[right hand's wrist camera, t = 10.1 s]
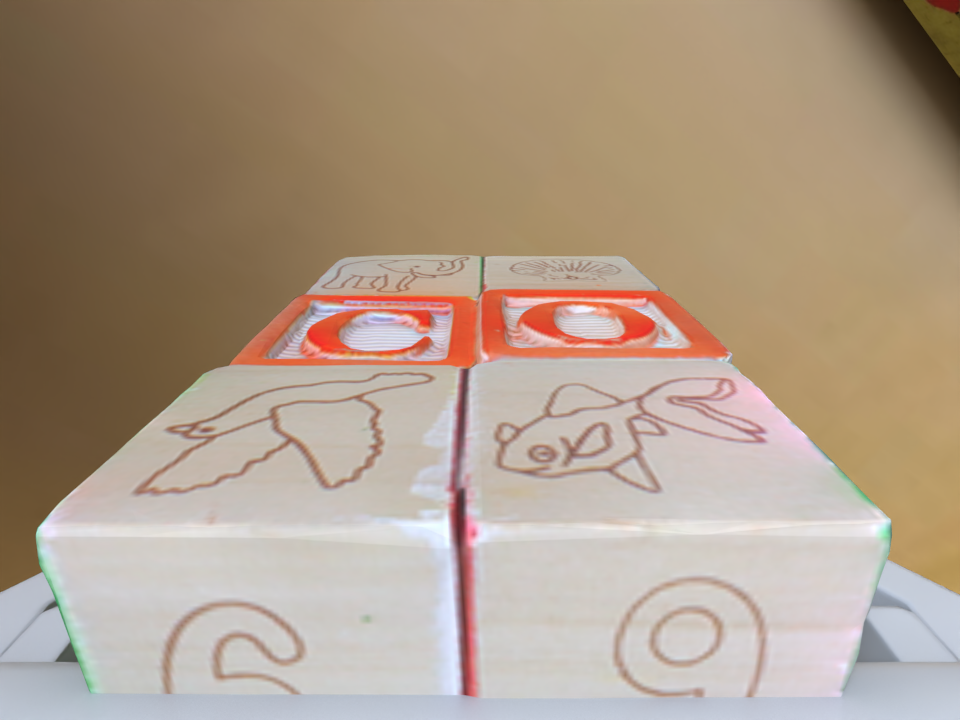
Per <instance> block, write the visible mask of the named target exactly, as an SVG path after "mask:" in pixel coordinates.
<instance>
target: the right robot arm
mask: <svg viewBox="0 0 960 720" xmlns="http://www.w3.org/2000/svg"><path fill="white" fill-rule="evenodd" d="M0 720H960V595H959V594H957V593H955V592H953V591H951V590H949V589H947V588H945V587H943V586H941V585H939V584H937V583H935V582H933V581H931V580H929V579H926V578H924V577H922V576H920V575H918V574H916V573H914V572H912V571H910V570H908V569H906V568H904V567H902V566H900V565H898V564H896V563H894V562H892V561H890V560H888V559H887V560H886V563H885V566H884V569H883V571H882V574H881V577H880V580H879V583H878V586H877V589H876V593H875V596H874V599H873V602H872V605H871V608H870V611H869V613H868V615H867V617H866V619H865V621H864V625H863V631H862V637H861V643H860V649H859V655H858V657H857V660H856V662H855V665H854V667H853V669H852V672H851V674H850V677H849V679H848V681H847V684H846V686H845V689H844V691H843V693H842V696H841V697H692V698H477V697H472V696H466V695H293V694H91V693H90V691H89V689H88V686H87V684H86V681H85V678H84V676H83V673H82V671H81V668H80V665H79V663H78V660H77V657H76V655H75V652H74V649H73V647H72V644H71V641H70V639H69V636H68V633H67V630H66V628H65V625H64V622H63V619H62V617H61V614H60V611H59V608H58V606H57V603H56V600H55V598H54V595H53V592H52V590H51V588H50V586H49V584H48V582H47V580H46V577H45V575H44V573H43V572H41V573H39V574H37V575H35V576H33V577H31V578H29V579H27V580H25V581H23V582H21V583H19V584H17V585H15V586H13V587H11V588H9V589H7V590H4V591H2V592H0Z"/></svg>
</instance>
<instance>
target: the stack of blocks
mask: <svg viewBox="0 0 960 720" xmlns="http://www.w3.org/2000/svg"><path fill="white" fill-rule="evenodd" d="M731 362H732V353H731V352H730V351H729V350H728V349H727V348H726V347H725V346H724V345H723V344H722V343H721V342H720V341H719V340H718V339H717V338H716V337H715V336H713V335H712V334H711V333H710V332H709V331H708V330H707V329H706V328H705V327H704V326H703V325H702V324H700V323H699V322H698V321H697V320H696V319H695V318H694V317H693V316H692V315H691V314H689V313H688V312H687V311H686V310H685V309H684V308H682V307H681V306H680V305H679V304H678V303H677V302H676V301H675V300H674V299H672V298H671V297H670V296H669V295H667V294H665V293H663V292H661V291H660V289H659V287H657V286H656V285H655V284H654V283H653V282H651V281H650V280H649V279H648V278H646V277H645V276H644V275H643V274H642V273H641V272H640V271H639V270H637V269H636V268H635V267H634V266H633V265H632V264H630V263H629V262H628V261H627V260H626V259H625V258H623V257H620V256H491V257H480V256H468V255H385V256H363V257H347V258H344V259H342V260H339V261H337V262H336V263H335V264H334V265H333V266H332V267H331V268H329V269H328V270H327V271H326V272H325V273H324V274H323V275H322V276H321V277H320V279H319V280H318V281H317V282H316V283H315V284H314V285H313V286H312V287H311V288H310V289H309V290H308V292H307V293H306V294H303V295H301V296H299V297H297V298H295V299H294V300H292V301H291V302H290V304H289V305H288V306H287V307H286V308H285V309H284V310H282V311H281V312H280V313H279V314H278V315H277V316H276V317H275V318H274V319H273V320H272V321H271V322H270V323H269V324H268V325H267V326H266V327H265V328H264V329H263V330H262V331H260V332H259V333H258V334H257V335H256V336H255V337H254V338H253V339H252V340H251V341H250V342H249V343H248V344H247V345H246V346H245V347H244V348H243V349H242V351H241V352H240V353H239V354H238V355H237V356H236V357H235V358H234V359H233V360H232V362H231V363H230V365H229V366H226V367H220V368H216V369H214V370H211V371H209V372H206V373H204V374H203V375H202V376H201V377H200V378H199V379H198V380H197V381H196V382H195V383H194V384H193V385H192V386H191V387H189V388H188V389H187V390H186V391H185V392H183V393H182V394H181V395H180V396H179V397H178V398H177V399H176V400H175V401H174V402H173V403H172V404H171V405H170V406H168V407H167V408H166V409H165V410H164V411H162V412H161V413H160V414H159V415H158V416H157V417H156V418H154V419H153V420H152V421H151V422H150V423H148V424H147V425H146V426H145V427H144V428H143V429H141V430H140V431H139V432H138V433H137V434H136V435H135V436H134V437H133V438H132V439H131V440H130V441H129V442H127V443H126V444H125V445H124V446H123V447H122V448H121V449H120V450H119V451H118V452H117V453H115V454H114V455H113V456H112V457H111V458H110V459H109V460H108V461H106V462H105V463H104V464H103V465H102V466H101V467H100V468H98V469H97V470H96V471H95V472H94V473H93V474H92V475H90V476H89V477H88V478H87V479H86V480H85V481H84V482H83V483H81V484H80V485H79V486H78V487H77V488H76V489H75V490H73V491H72V492H71V493H70V494H69V495H68V496H67V497H65V498H64V499H63V500H62V501H61V502H60V503H59V504H58V505H57V506H56V507H55V508H54V510H53V511H52V512H51V513H50V514H49V515H48V516H47V518H46V519H45V520H44V521H43V522H42V523H41V525H40V526H39V527H38V528H37V533H36V543H37V551H38V559H39V565H40V567H41V569H42V571H43V573H44V575H45V577H46V580H47V582H48V584H49V586H50V588H51V590H52V592H53V595H54V598H55V600H56V603H57V606H58V608H59V611H60V614H61V617H62V619H63V622H64V625H65V628H66V630H67V633H68V636H69V639H70V641H71V644H72V647H73V649H74V652H75V655H76V657H77V660H78V663H79V665H80V668H81V671H82V673H83V676H84V678H85V681H86V684H87V686H88V689H89V691H90V693H91V694H293V695H466V696H472V697H477V698H692V697H841V696H842V693H843V691H844V689H845V686H846V684H847V681H848V679H849V677H850V674H851V672H852V669H853V667H854V665H855V662H856V660H857V657H858V655H859V649H860V643H861V637H862V631H863V625H864V621H865V619H866V617H867V615H868V613H869V611H870V608H871V605H872V602H873V599H874V596H875V593H876V589H877V586H878V583H879V580H880V577H881V574H882V571H883V569H884V566H885V563H886V560H887V558H888V555H889V552H890V545H891V538H892V528H891V520H890V519H889V518H888V517H887V516H886V515H885V514H884V513H883V512H882V511H881V510H880V509H879V508H878V507H877V506H876V505H875V504H874V503H873V502H872V501H871V500H870V499H869V498H868V497H867V496H866V495H865V494H864V493H863V492H862V491H861V490H860V489H859V488H858V487H857V486H856V485H855V484H854V483H853V482H852V481H851V480H850V479H849V478H848V477H847V476H846V475H845V474H844V473H843V472H842V471H841V470H840V469H839V468H838V466H837V465H836V464H835V463H834V462H833V461H832V460H831V459H830V458H829V457H828V456H827V455H826V454H825V453H824V452H823V451H822V450H821V449H820V448H819V447H818V446H817V445H816V444H814V443H813V442H812V441H811V440H810V439H809V438H808V437H807V436H806V435H805V434H804V433H803V432H802V431H801V430H800V429H799V428H798V427H797V426H796V425H795V424H794V423H793V422H791V421H790V420H789V419H788V418H787V417H786V416H785V415H784V414H783V413H782V412H781V411H780V410H779V409H778V408H777V407H776V406H775V405H774V404H773V403H772V402H771V401H770V400H769V399H768V398H767V397H766V396H765V394H764V393H763V392H762V391H761V390H760V389H759V388H758V387H757V386H756V385H754V384H753V383H752V382H751V381H750V380H749V379H748V378H746V377H745V376H744V375H742V374H741V373H740V372H739V370H738V369H737V368H736V367H735V366H733V365H732V364H731Z"/></svg>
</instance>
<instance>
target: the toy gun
mask: <svg viewBox="0 0 960 720" xmlns="http://www.w3.org/2000/svg"><path fill="white" fill-rule="evenodd" d="M903 1H904V2H905V4H906V5H907V6H908V8H909V9H910V10H911V12H912V13H913V14H914V16H915V17H916V19H917V20H918V21H919V23H920V24H921V25H922V27H923V28H924V30H925V31H926V32H927V34H928V35H929V36H930V38H931V39H932V40H933V42H934V43H935V45H936V46H937V47H938V49H939V50H940V51H941V53H942V54H943V55H944V57H945V58H946V60H947V61H948V62H949V64H950V65H951V66H952V68H953V69H954V71H955V72H956V73H957V75H958V76H959V77H960V0H903Z"/></svg>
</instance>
